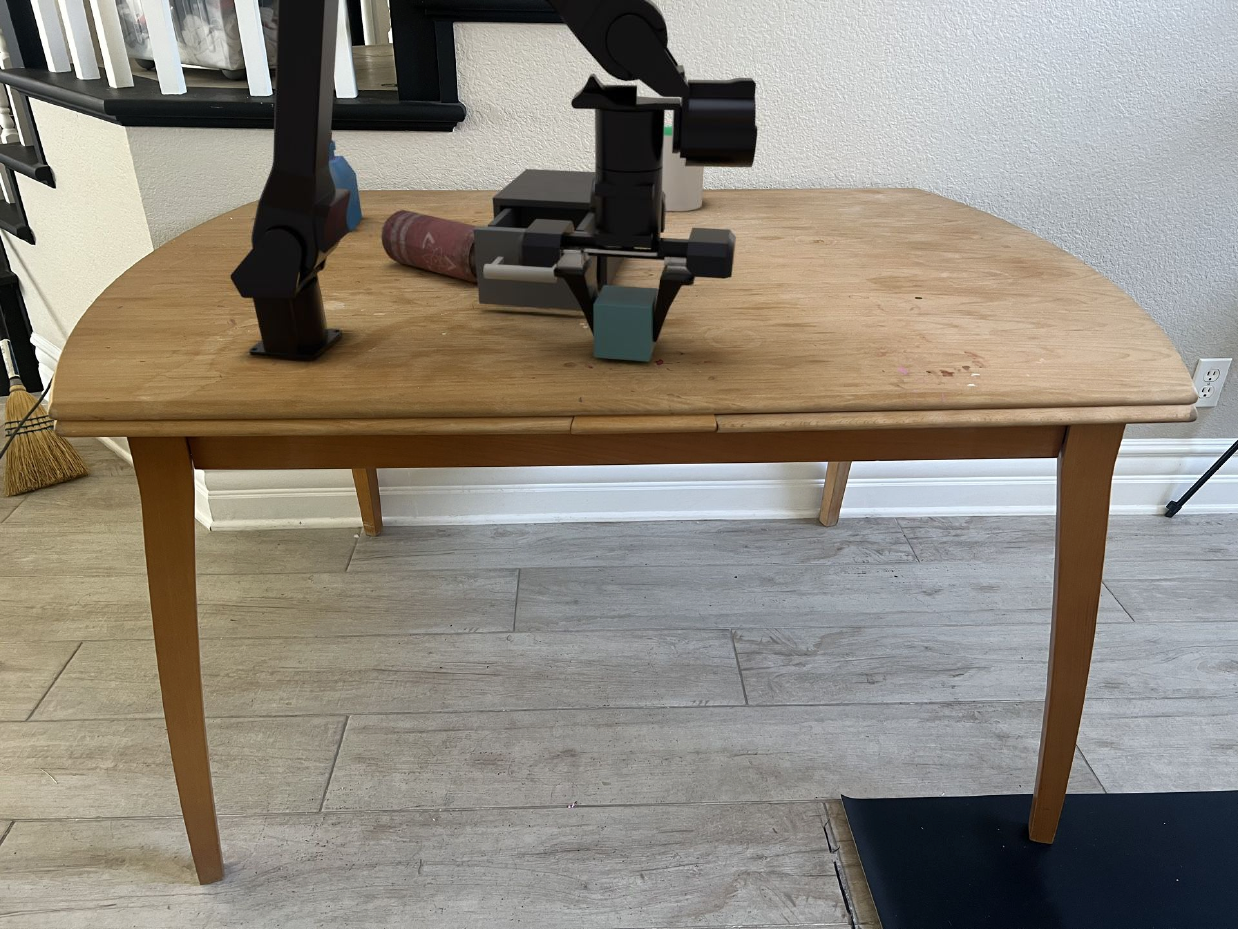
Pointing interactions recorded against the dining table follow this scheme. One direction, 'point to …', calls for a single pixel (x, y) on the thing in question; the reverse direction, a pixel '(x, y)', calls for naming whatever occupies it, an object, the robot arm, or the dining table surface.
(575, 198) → the cabinet
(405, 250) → the can
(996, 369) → the dining table surface
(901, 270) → the dining table surface
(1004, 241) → the dining table surface
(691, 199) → the mug
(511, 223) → the drawer
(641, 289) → the block
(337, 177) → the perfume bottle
